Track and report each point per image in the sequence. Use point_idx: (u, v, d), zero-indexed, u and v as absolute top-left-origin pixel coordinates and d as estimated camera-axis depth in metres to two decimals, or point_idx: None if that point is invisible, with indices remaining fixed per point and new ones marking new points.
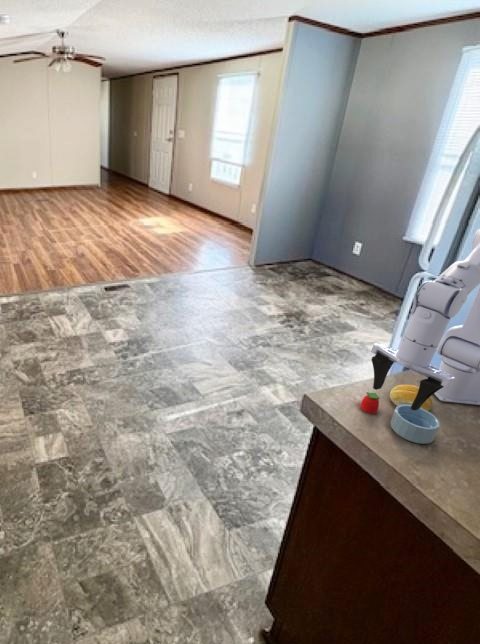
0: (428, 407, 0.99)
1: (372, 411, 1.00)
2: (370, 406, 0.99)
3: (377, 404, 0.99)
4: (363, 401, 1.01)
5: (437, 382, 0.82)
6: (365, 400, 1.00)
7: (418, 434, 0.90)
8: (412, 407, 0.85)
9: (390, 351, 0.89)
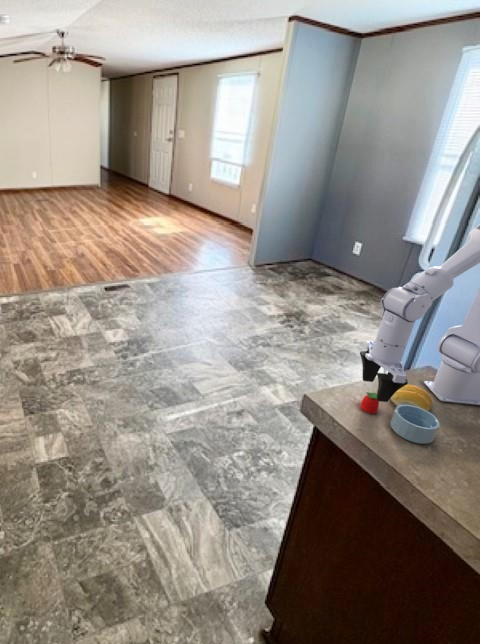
0: (428, 407, 0.99)
1: (372, 411, 1.00)
2: (370, 406, 0.99)
3: (377, 404, 0.99)
4: (363, 401, 1.01)
5: (391, 377, 0.91)
6: (365, 400, 1.00)
7: (418, 434, 0.90)
8: (377, 398, 0.96)
9: None
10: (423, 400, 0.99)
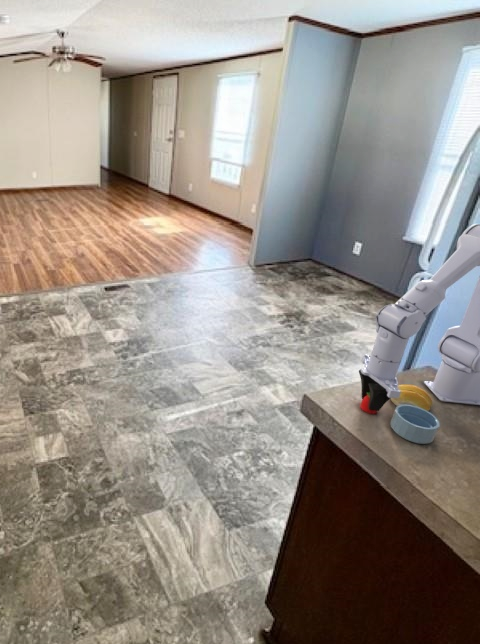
0: (428, 407, 0.99)
1: (372, 411, 1.00)
2: None
3: None
4: (363, 401, 1.01)
5: (382, 387, 0.95)
6: (365, 400, 1.00)
7: (418, 434, 0.90)
8: None
9: None
10: (423, 400, 0.99)
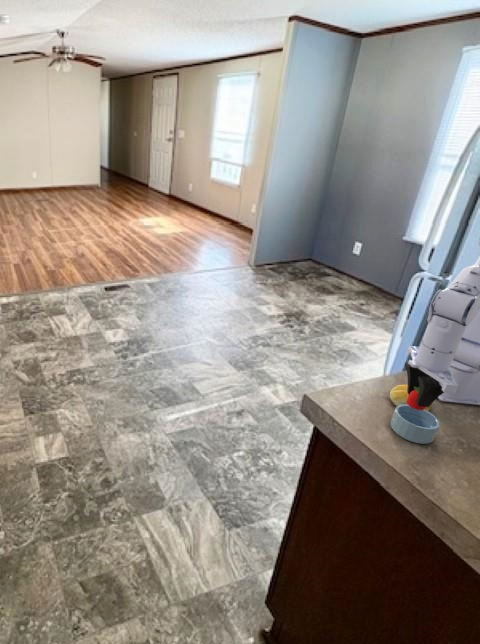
0: (428, 407, 0.99)
1: (421, 407, 0.91)
2: None
3: None
4: (410, 396, 0.92)
5: (434, 381, 0.86)
6: (412, 395, 0.91)
7: (418, 434, 0.90)
8: (417, 402, 0.90)
9: None
10: None
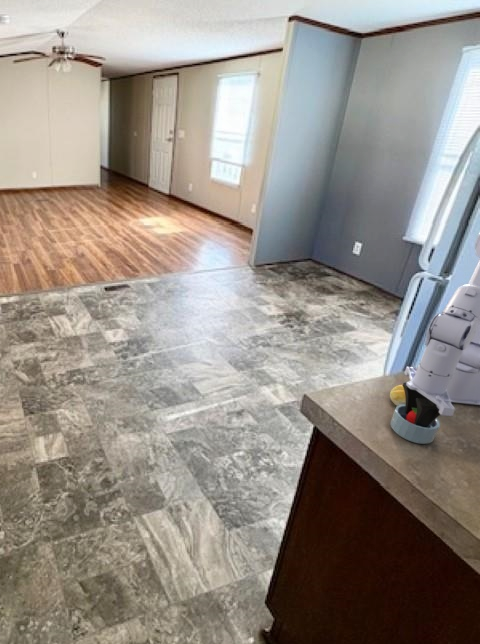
0: None
1: None
2: None
3: None
4: (408, 417, 0.93)
5: (432, 403, 0.87)
6: (410, 416, 0.92)
7: (418, 434, 0.90)
8: (415, 423, 0.91)
9: None
10: None
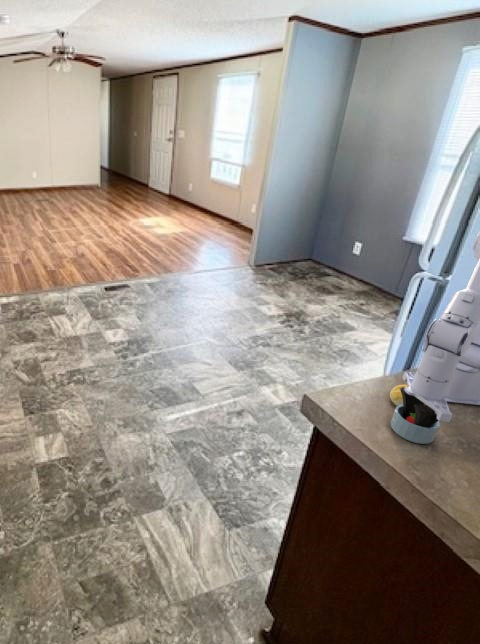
0: None
1: None
2: None
3: None
4: None
5: (430, 409, 0.87)
6: (408, 421, 0.93)
7: (418, 434, 0.90)
8: None
9: None
10: None
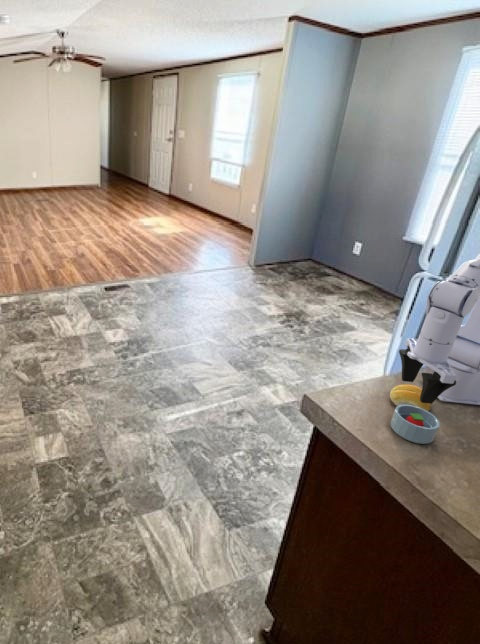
0: (428, 407, 0.99)
1: None
2: None
3: (422, 426, 0.92)
4: None
5: (438, 377, 0.85)
6: (408, 421, 0.93)
7: (418, 434, 0.90)
8: (420, 399, 0.89)
9: None
10: None
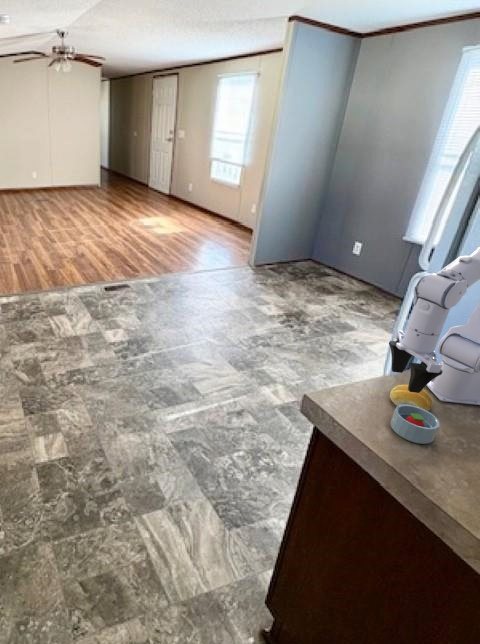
0: (428, 407, 0.99)
1: None
2: None
3: (422, 426, 0.92)
4: None
5: (425, 367, 0.88)
6: (408, 421, 0.93)
7: (418, 434, 0.90)
8: (408, 388, 0.93)
9: None
10: (423, 400, 0.99)
